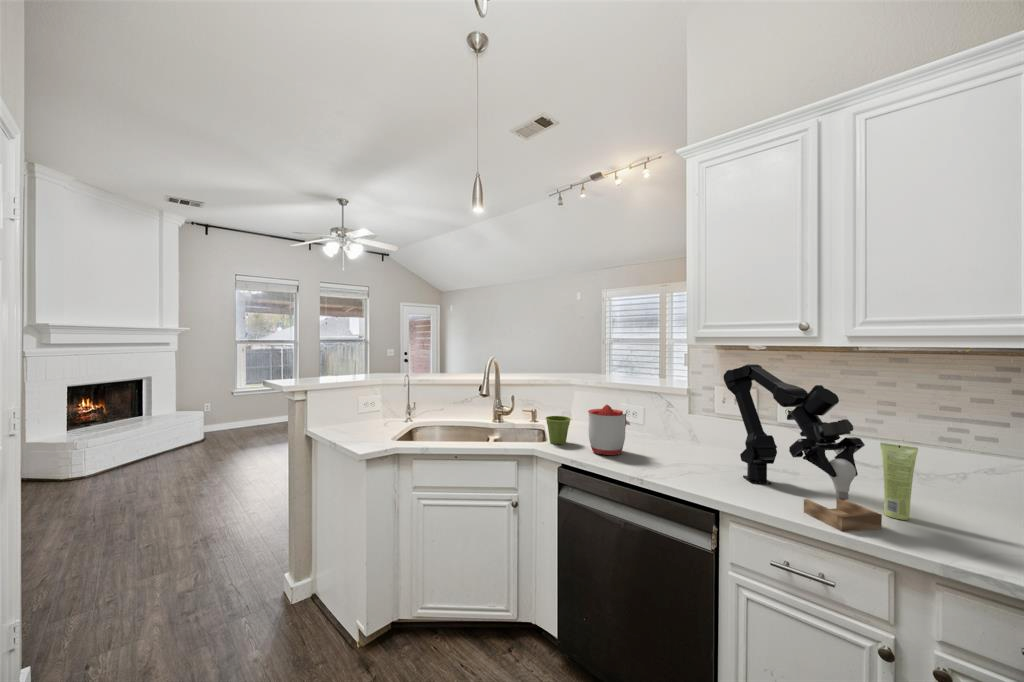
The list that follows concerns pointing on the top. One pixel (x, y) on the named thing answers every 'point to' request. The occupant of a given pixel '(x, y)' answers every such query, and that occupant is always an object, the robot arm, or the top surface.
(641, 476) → the top surface
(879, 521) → the u rest
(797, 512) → the top surface
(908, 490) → the tube
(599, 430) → the citrus juicer
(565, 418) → the plant pot
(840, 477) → the lightbulb
